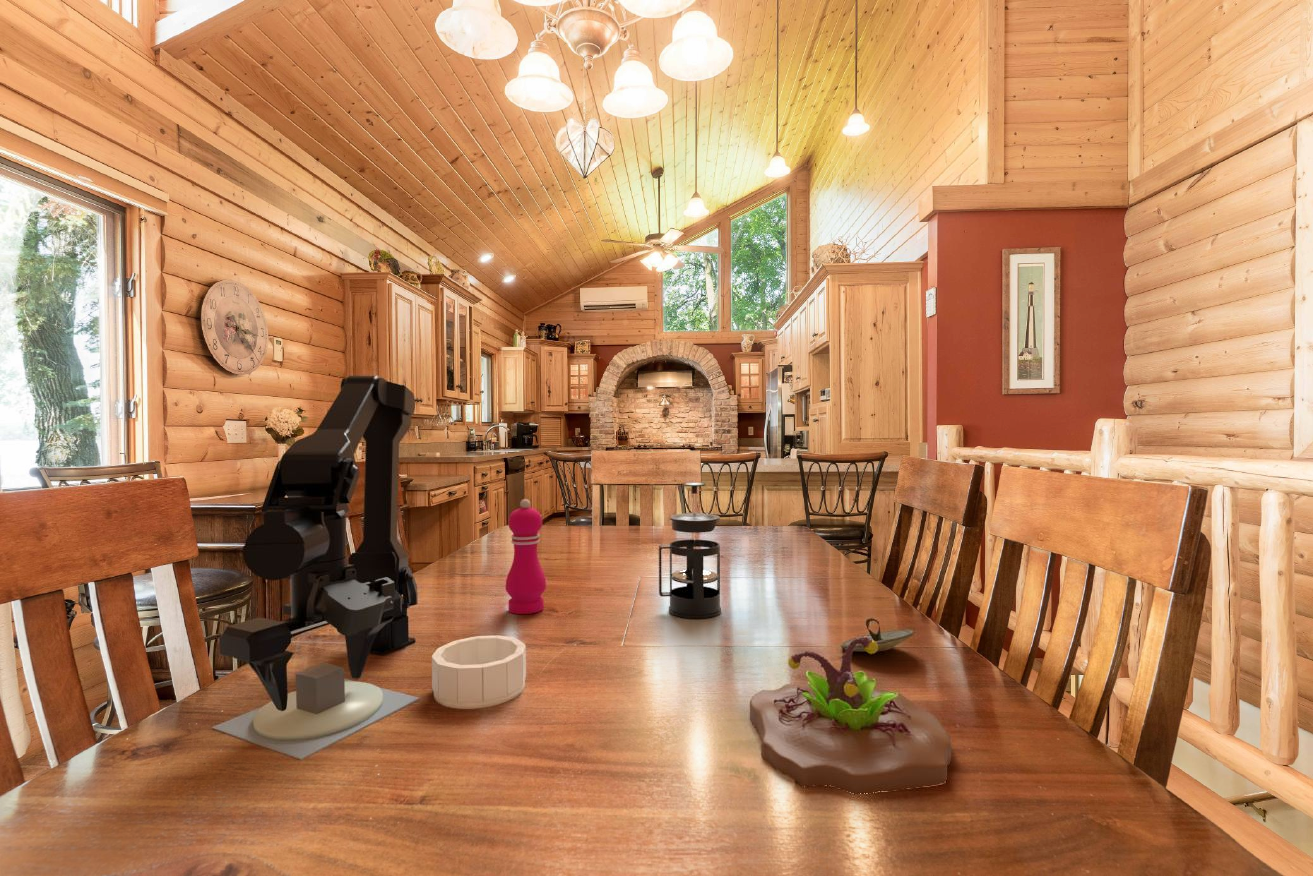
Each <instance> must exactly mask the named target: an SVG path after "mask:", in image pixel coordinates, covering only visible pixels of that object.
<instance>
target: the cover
mask: <svg viewBox="0 0 1313 876" xmlns="http://www.w3.org/2000/svg"><path fill="white" fill-rule="evenodd" d="M344 679H345V667H344V666H339V665H336V664H331V663H327V662H322V663H320V664H318V665H317V664H316V665H314V666H311V667H309V668H306V669H303V670H302V671H301V670H300V671H299V672H296V673H295V690H294V691H291V692H289V693H288V699H287V708H286V710H284V711H280V710H277V708H276V707H275V705H274V703H273V701H272V700H271V701H269V702H268V703H266V704H265V705H262V706H261V707H262V708H261V709H260V710H258V712H257V713H256V714H255V716H254V720H253V724H254V731H255V732H256V734H258V735H259V736H261V737H263V738H267V739H271V740H280V741H294V740H304V739H311V738H317V737H322V736H326V735H330V734H333V733H337V732H340V731H343V730H346V729H348V728H351V727H353V726H355V725H358V724H360V723H362V722H363V721H365V720H367V719H368V718H370V717H371V716H373V715H374V714H375V713H376V712H377V711H378V710H379V709H380V708H381V706H382V704H383V693H382V690H381V689H380V688H381V687H379V686H377V685H375V684H372V683H368V682H363V681H362V682H361V681H356V682H345V680H344Z"/></svg>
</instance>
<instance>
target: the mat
mask: <svg viewBox="0 0 1313 876" xmlns="http://www.w3.org/2000/svg"><path fill="white" fill-rule="evenodd" d="M344 680H345V682H357V681H355V680H352V679H347V678H344ZM379 688H380V689H381V690H382V693H383V704H382V706H381V708H380V709H379V710H378V711H377V712H376V713H375V714H374V715H373V716H371V717H370V718H368V719H367V720H365V721H363V722H362V723H360V724H358V725H355V726H353V727H351V728H348V729H346V730H343V731H340V732H337V733H333V734H330V735H326V736H322V737H317V738H311V739H304V740H294V741H280V740H271V739H267V738H263V737H261V736H259V735H258V734H256V732H255V731H254V724H253V720H254V716H255V714H256V713H257V712H258V710H260V709H261V708H262V707H263V706H260V707H258V708H256V709H252V710H251V711H249V712H246V713H244V714H241V715H237V716H236V717H234V718H231V719H229V720H227V721H224V722H221V723H219V724H217V725H215V726H212V727H211V729H213V730H216V731H218V732H220V733H223V734H227V735H229V736H233V737H235V738H237V739H240V740H243V741H246V742H249V743H252V744H255V745H257V746H261V747H263V748H266V749H269V750H272V751H274V752H277V753H281V754H283V755H286V756H289V757H290V758H294V759H297V760H299V761H302V760H304V759H306V758H308V757H310V756H312V755H314V754H316V753H318V752H320V751H322V750H324V749H326V748H328V747H331V745H334V744H336V743H338V742H340V741H342V740H344V739H346V738H348V737H350V736H351V735H354V734H356V733H357V732H359V731H361V730H363V729H365V728H368V727H369V726H371V725H373V724H375V723H377V722H379V721H381V720H383V719H385V718H387V717H389V716H390V715H393V714H395V713H397V712H398V711H399V712H400V710H402V709H405V708H406V707H409V706H410V705H412V704H414V703H416V702H418V701H421V698H420V697H417V696H413V695H409V694H406V693H402V692H398V691H394V690H390V689H386V688H382V687H379Z"/></svg>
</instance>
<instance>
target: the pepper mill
mask: <svg viewBox="0 0 1313 876" xmlns="http://www.w3.org/2000/svg"><path fill="white" fill-rule="evenodd" d="M519 503H520V504H519V505H520V508H517V509H515V510H513V511H512V512H511V514H510V515H509V518H508V528H509V530H510V531H511V532H512V534H511V536H510V537H511V544H513V549H514V550H513V551H514V553H513V560H512V564H511V566H510V569H509V571H508V573H507V576H506V580H505V592H506V593H507V594H508V595H509V597H511V598H509V600H508V601H507V603H508V608H507V609H508V612H510V613H512V614H514V615H530V614H536V613H540V612H541V611H543V610H544V609H545V608H544V607H545V602H544V597H543V596H542V595H543V593H544V592H545V591H546V588H547V579H546V576H545V572H544V570H543V568H542V566H541V563H540V560H539V557H538V543H540V541H541V540H540V533H538V532H539V531H540V530H541V528H542V526H543V517H542V514H541V513H540V512H539V511H538V510H537V509H535V508H533V507H531V502H530V500H529V499H527V498H524V499H522V500H521V501H520V502H519Z"/></svg>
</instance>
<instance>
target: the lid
mask: <svg viewBox="0 0 1313 876" xmlns="http://www.w3.org/2000/svg"><path fill="white" fill-rule="evenodd" d="M871 622H876V624H877V625H878V631H877V632H876V633H875V632H874V631H872V630H870V629H869V627H870V623H871ZM865 626H866V629H867V631H868V632H869V634H865V635H862V637H867V638H871V639H873V640H874V641H875V642H876V643H877V645H878V650H877V651H876V652H885V651H887V650H890V649H892V648H894V647H896V646H898V645H900V644H901V643H904V642H905V641H907V640H908V639H910V637H912V636H914V634H915V630H914V629H910V628H906V629H894V630H893V629H892V630H886V631H881V628H880V622H879V620H877V619H875V618H873V617H871V618H868V619H866V621H865ZM859 637H860V636H858V638H859ZM853 640H854V638H852V639H851V638H850V639H849V640H846V641H844V642H843V643H841V644H840V647H841V648H842V649H844V650H846V649H847V647H848V645H849V644H850V643H851V642H852V641H853ZM853 652H861V653H863V652H864V653H865V652H866V651H865V650H864V648H863V647H862V644H856V646H855V648H854V650H853ZM866 653H867V652H866Z"/></svg>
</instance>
